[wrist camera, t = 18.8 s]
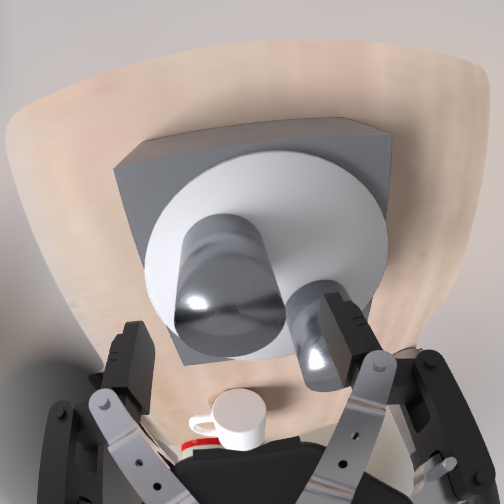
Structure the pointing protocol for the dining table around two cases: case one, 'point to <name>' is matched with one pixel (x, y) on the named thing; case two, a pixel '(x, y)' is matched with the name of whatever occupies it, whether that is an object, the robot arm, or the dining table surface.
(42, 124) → the dining table surface
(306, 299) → the cylinder
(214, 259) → the cylinder
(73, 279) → the dining table surface
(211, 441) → the kitchen timer
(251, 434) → the mug
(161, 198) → the scale
